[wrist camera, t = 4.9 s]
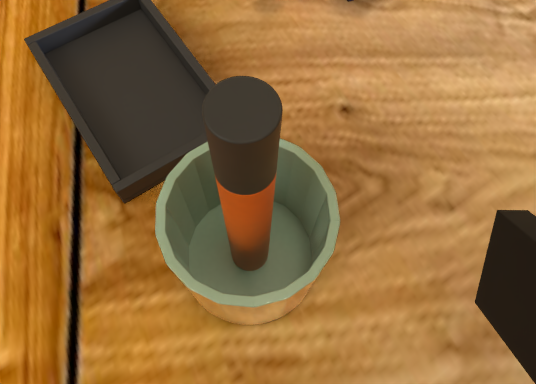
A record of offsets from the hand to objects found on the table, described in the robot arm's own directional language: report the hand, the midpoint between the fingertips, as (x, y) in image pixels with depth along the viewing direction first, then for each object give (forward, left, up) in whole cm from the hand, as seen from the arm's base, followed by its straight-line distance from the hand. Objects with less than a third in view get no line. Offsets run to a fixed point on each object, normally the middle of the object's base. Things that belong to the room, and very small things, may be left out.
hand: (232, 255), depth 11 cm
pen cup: (-3, -3, -18) cm, 18 cm away
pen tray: (-6, -19, -18) cm, 26 cm away
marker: (-3, -3, -17) cm, 18 cm away
